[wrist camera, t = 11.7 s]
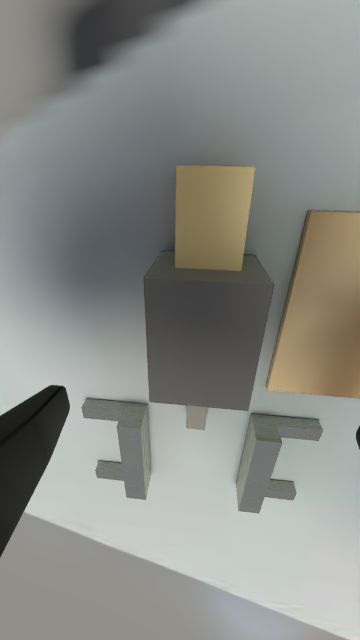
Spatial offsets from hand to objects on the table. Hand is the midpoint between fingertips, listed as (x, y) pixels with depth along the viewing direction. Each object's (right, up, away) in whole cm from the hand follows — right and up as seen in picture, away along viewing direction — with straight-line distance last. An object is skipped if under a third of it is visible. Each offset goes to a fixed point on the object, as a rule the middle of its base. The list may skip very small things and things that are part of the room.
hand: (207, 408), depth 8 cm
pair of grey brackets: (0, -7, +11) cm, 13 cm away
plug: (0, +3, +6) cm, 7 cm away
